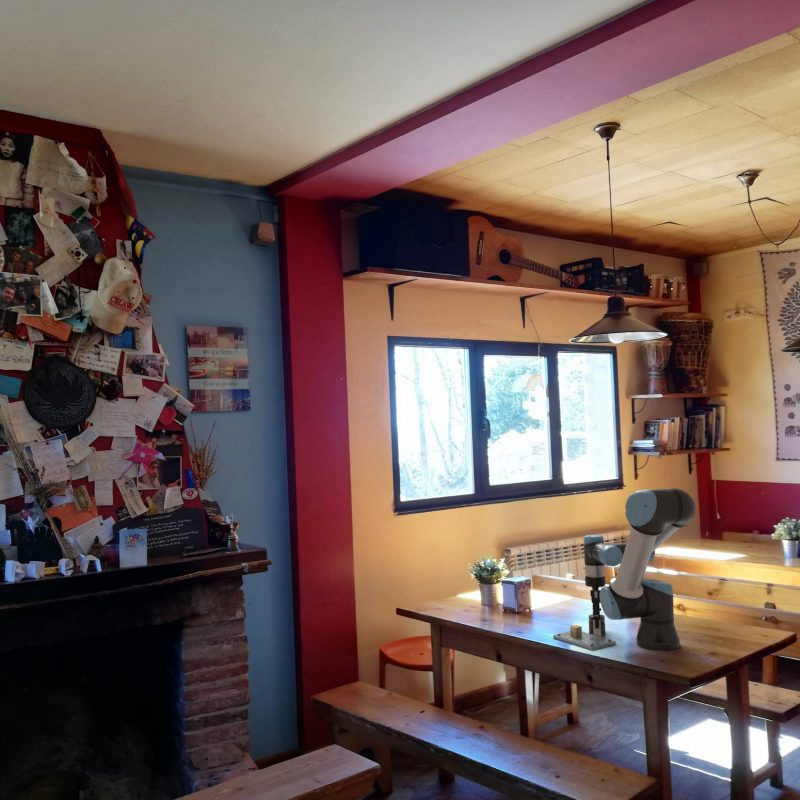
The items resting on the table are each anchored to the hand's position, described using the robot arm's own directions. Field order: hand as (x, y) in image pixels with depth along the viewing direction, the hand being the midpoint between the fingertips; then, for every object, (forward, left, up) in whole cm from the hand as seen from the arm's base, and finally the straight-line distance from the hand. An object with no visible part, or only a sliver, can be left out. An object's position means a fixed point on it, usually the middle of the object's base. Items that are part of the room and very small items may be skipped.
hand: (597, 632), depth 304 cm
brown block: (0, 0, 0) cm, 0 cm away
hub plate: (-5, +12, 0) cm, 13 cm away
